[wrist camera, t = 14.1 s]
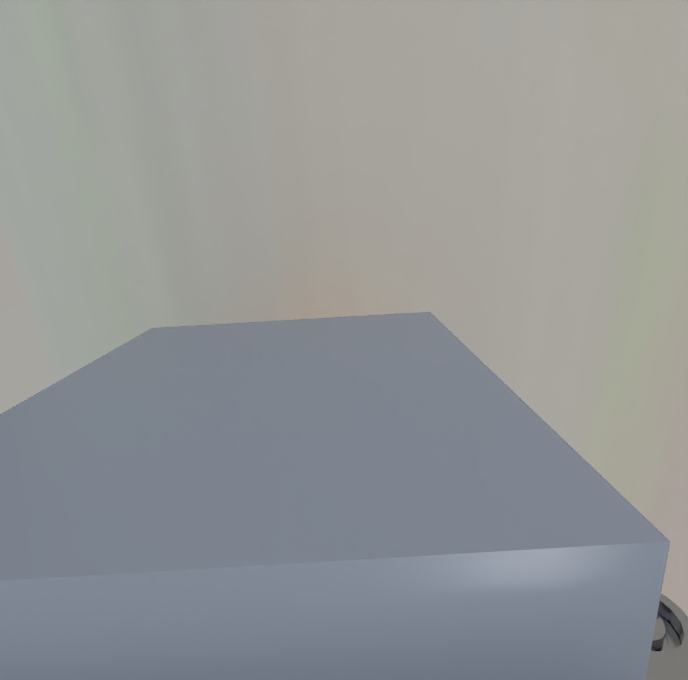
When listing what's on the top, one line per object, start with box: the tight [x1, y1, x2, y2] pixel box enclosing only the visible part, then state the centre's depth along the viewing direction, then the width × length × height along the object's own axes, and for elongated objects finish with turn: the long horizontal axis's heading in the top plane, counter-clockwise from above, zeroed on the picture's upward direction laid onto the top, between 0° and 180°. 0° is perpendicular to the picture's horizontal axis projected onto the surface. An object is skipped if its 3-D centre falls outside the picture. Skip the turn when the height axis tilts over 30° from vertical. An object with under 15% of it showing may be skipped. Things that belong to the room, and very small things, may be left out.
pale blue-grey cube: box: [0, 312, 670, 680], centre depth 9 cm, size 8×8×9 cm
